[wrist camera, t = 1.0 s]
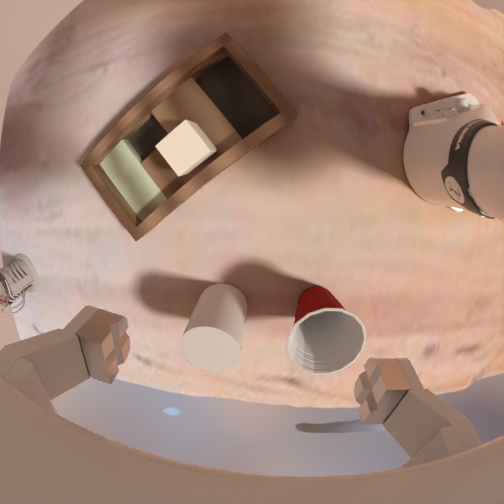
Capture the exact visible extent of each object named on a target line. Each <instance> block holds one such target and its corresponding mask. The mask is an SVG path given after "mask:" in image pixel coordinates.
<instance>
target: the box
mask: <svg viewBox="0 0 504 504" xmlns="http://www.w3.org/2000/svg"><path fill="white" fill-rule="evenodd" d="M297 116H298V115H297V113H296V112H295V111H294V110H293V108H292V107H291V106H290V104H289V103H288V102H287V101H286V99H285V98H284V97H283V96H282V94H281V93H280V92H279V91H278V89H277V88H276V87H275V86H274V85H273V83H272V82H271V81H270V80H269V79H268V78H267V76H266V75H265V74H264V73H263V72H262V71H261V69H260V68H259V67H258V66H257V65H256V64H255V63H254V62H253V60H252V59H251V58H250V57H249V56H248V55H247V54H246V53H245V52H244V51H243V50H242V49H241V47H240V46H239V45H238V44H237V43H236V42H235V41H234V40H233V39H232V38H231V37H230V36H229V35H228V34H227V33H225V34H224V35H222V36H221V37H219V38H218V39H216V40H215V41H213V42H212V43H210V44H209V45H207V46H206V47H205V48H203V49H202V50H200V51H199V52H198V53H196V54H195V55H194V56H192V57H191V58H190V59H188V60H187V61H186V62H184V63H183V64H182V65H180V66H179V67H178V68H177V69H175V70H174V71H173V72H172V73H171V74H169V75H168V76H167V77H166V78H165V79H163V80H162V81H161V82H160V83H159V84H158V85H156V86H155V87H154V88H153V89H152V90H151V91H150V92H149V93H147V94H146V95H145V96H144V97H143V98H142V99H141V100H140V101H139V102H138V103H137V104H136V105H135V106H134V107H133V108H132V109H130V110H129V111H128V112H127V113H126V114H125V115H124V116H123V118H122V119H121V120H120V121H119V122H118V123H117V124H116V125H115V126H114V127H113V128H112V129H111V130H110V131H109V132H108V133H107V134H106V136H105V137H104V138H103V139H102V140H101V141H100V142H99V143H98V145H97V146H96V147H95V148H94V149H93V150H92V152H91V153H90V154H89V155H88V156H87V158H86V159H85V160H84V161H83V163H82V164H81V167H82V168H83V170H84V171H85V173H86V174H87V176H88V177H89V179H90V180H91V182H92V183H93V184H94V186H95V187H96V189H97V190H98V192H99V193H100V194H101V196H102V197H103V198H104V200H105V201H106V203H107V204H108V205H109V207H110V208H111V209H112V211H113V212H114V213H115V215H116V216H117V217H118V219H119V220H120V221H121V223H122V224H123V225H124V227H125V228H126V229H127V231H128V232H129V233H130V234H131V236H132V237H133V238H134V239H135V241H137V240H139V239H140V238H141V237H143V236H144V235H145V234H147V233H148V232H149V231H150V230H151V229H153V228H154V227H155V226H156V225H157V224H158V223H159V222H161V221H162V220H163V219H164V218H165V217H166V216H168V215H169V214H170V213H171V212H172V211H173V210H175V209H176V208H177V207H178V206H179V205H181V204H182V203H183V202H184V201H185V200H187V199H188V198H189V197H190V196H191V195H193V194H194V193H195V192H196V191H198V190H199V189H200V188H201V187H203V186H204V185H205V184H206V183H208V182H209V181H210V180H212V179H213V178H214V177H215V176H217V175H218V174H219V173H221V172H222V171H223V170H225V169H226V168H227V167H228V166H230V165H231V164H232V163H234V162H235V161H236V160H238V159H239V158H241V157H242V156H243V155H245V154H246V153H247V152H249V151H250V150H251V149H253V148H254V147H256V146H257V145H258V144H260V143H261V142H263V141H264V140H266V139H267V138H268V137H270V136H271V135H273V134H274V133H276V132H277V131H279V130H280V129H281V128H283V127H284V126H286V125H287V124H289V123H290V122H292V121H293V120H295V119H296V118H297ZM184 120H189V121H192V122H195V123H197V124H198V126H199V127H200V128H201V129H202V131H203V132H204V133H205V135H206V136H207V137H208V138H209V140H210V141H211V142H212V143H213V145H214V146H215V147H216V148H217V150H218V151H217V152H216V153H214V154H213V155H212V156H211V157H209V158H208V159H207V160H206V161H204V162H203V163H202V164H201V165H199V166H198V167H197V168H196V169H194V170H193V171H192V172H191V173H189V174H186V175H182V176H178V175H177V174H176V173H175V171H174V170H173V169H172V167H171V166H170V165H169V164H168V162H167V161H166V160H165V158H164V157H163V156H162V154H161V153H160V152H159V151H158V149H157V148H156V147H155V146H156V145H157V144H158V143H159V142H160V141H161V140H162V139H164V138H165V137H166V136H167V135H168V134H169V133H170V132H172V131H173V130H174V129H175V128H176V127H177V126H179V125H180V124H181V123H182V122H183V121H184Z"/></svg>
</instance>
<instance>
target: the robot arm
mask: <svg viewBox="0 0 504 504" xmlns="http://www.w3.org/2000/svg"><path fill="white" fill-rule="evenodd" d="M421 111H422V112H423V115H422V114H421ZM502 125H503V126H500V124H499V122H498V120H497V118H496V116H495V115H494V113H493V112H492V111H491V109H490V108H489V107H487V106H486V105H481V104H480V102H479V101H478V100H477V99H476V98H475V97H474V96H473V95H472V94H470V93H464V94H460V95H456V96H452V97H448V98H444V99H441V100H437V101H433V102H430V103H426V104H423V105H420V106H416V107H413V108H411V109H410V111H409V132H408V135H407V138H406V141H405V145H404V152H403V160H404V168H405V172H406V176H407V178H408V181H409V183H410V185H411V187H412V188H413V190H414V191H415V192H416V193H417V194H418V196H420V197H421V198H422V199H423V200H425V201H427V202H429V203H431V204H435V205H446V206H448V207H449V208H451V209H452V210H454V211H458V212H460V211H462V210H466V211H470V212H473V213H476V214H478V215H479V216H481V217H486V218H491V219H494V218H496V219H499V220H501V221H503V222H504V122H503V121H502ZM127 328H128V322H127V319H126V318H125V317H124V316H121V315H118V314H114V313H111V312H108V311H105V310H102V309H98V308H96V307H93V306H90V305H89V306H85V307H84V308H83V309H82V310H81V311H80V312H79V313H78V314H77V315H76V316H75V317H74V318H73V319H72V320H71V321H70V322H69V323H68V324H67V326H66V327H65V328H64V329H63V330H61V329H56V330H53V331H50V332H47V333H44V334H41V335H37V336H34V337H31V338H28V339H25V340H22V341H18V342H15V343H12V344H9V345H6V346H4V348H3V349H2V350H1V351H0V504H504V435H503V436H501V437H499V438H497V439H494V440H492V441H490V442H488V443H485V444H483V445H481V443H480V441H479V439H478V437H477V435H476V433H475V430H474V428H473V426H472V424H471V422H470V420H468V419H467V418H466V417H464V416H463V415H461V414H460V413H459V412H457V411H456V410H455V409H453V408H452V407H451V406H449V405H448V404H447V403H445V402H444V401H443V400H441V399H440V398H439V397H437V396H436V395H435V394H433V393H432V392H431V391H429V390H428V389H424V388H423V386H422V384H421V382H420V380H419V378H418V376H417V374H416V372H415V370H414V368H413V366H412V365H411V363H410V361H409V360H408V359H407V358H395V359H390V358H369V359H368V360H367V362H366V364H365V365H364V367H365V372H363V373H362V374H360V375H359V377H358V379H357V381H356V383H355V388H354V395H355V399H356V401H357V402H358V403H359V404H360V405H361V406H360V408H359V409H358V411H359V415H360V419H361V423H362V424H383V426H384V427H385V428H386V429H387V430H388V432H389V433H390V434H391V435H392V436H393V437H394V438H395V440H396V441H397V442H398V443H399V444H400V445H401V446H402V447H403V449H404V450H405V451H406V452H407V453H408V454H409V455H410V456H411V459H409V460H408V461H407V462H406V463H405V464H404V465H403V466H402V468H398V469H393V470H388V471H381V472H373V473H365V474H356V475H344V476H327V477H326V476H324V477H290V476H289V477H288V476H271V475H270V476H269V475H257V474H248V473H239V472H232V471H225V470H219V469H214V468H208V467H203V466H198V465H193V464H189V463H185V462H180V461H176V460H172V459H169V458H165V457H161V456H158V455H154V454H151V453H148V452H145V451H142V450H139V449H136V448H133V447H130V446H127V445H124V444H122V443H119V442H116V441H114V440H111V439H109V438H106V437H104V436H101V435H99V434H97V433H94V432H92V431H90V430H88V429H86V428H83V427H81V426H79V425H77V424H75V423H73V422H71V421H69V420H67V419H65V418H63V417H61V416H59V415H57V412H56V410H55V408H54V406H53V404H52V402H51V400H52V399H54V398H55V397H57V396H59V395H61V394H62V393H64V392H66V391H68V390H70V389H71V388H73V387H75V386H76V385H78V384H80V383H82V382H84V381H85V380H87V379H89V378H90V377H92V378H94V379H97V380H100V381H103V382H106V383H109V384H111V383H112V382H113V380H114V379H115V377H116V375H117V374H118V372H119V369H118V365H120V364H122V363H124V362H125V360H126V358H127V357H128V353H129V350H130V338H129V336H128V335H127V333H126V332H125V331H126V330H127Z"/></svg>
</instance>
